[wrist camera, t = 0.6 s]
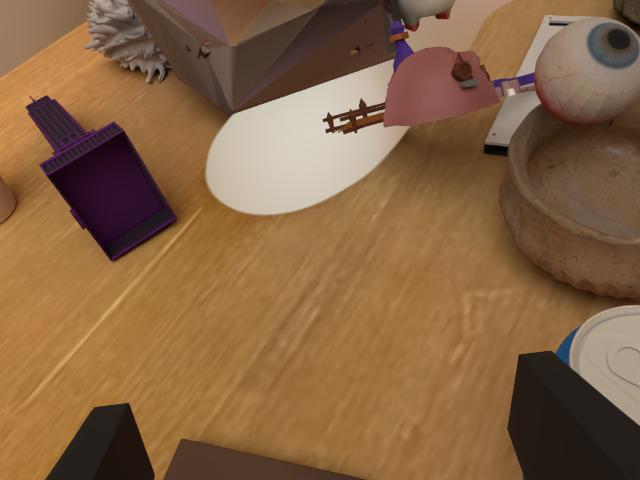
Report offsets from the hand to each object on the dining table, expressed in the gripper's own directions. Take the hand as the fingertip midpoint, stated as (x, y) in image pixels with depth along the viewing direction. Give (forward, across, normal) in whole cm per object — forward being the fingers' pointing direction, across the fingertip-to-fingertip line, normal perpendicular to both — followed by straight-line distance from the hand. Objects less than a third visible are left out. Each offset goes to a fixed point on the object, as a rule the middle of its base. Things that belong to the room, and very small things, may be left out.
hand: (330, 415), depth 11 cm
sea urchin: (+66, +13, +1) cm, 67 cm away
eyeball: (+22, -20, +4) cm, 30 cm away
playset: (+36, -17, +7) cm, 40 cm away
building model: (+31, +13, +10) cm, 35 cm away
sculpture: (+60, +4, +4) cm, 61 cm away
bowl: (+22, -22, +14) cm, 34 cm away
